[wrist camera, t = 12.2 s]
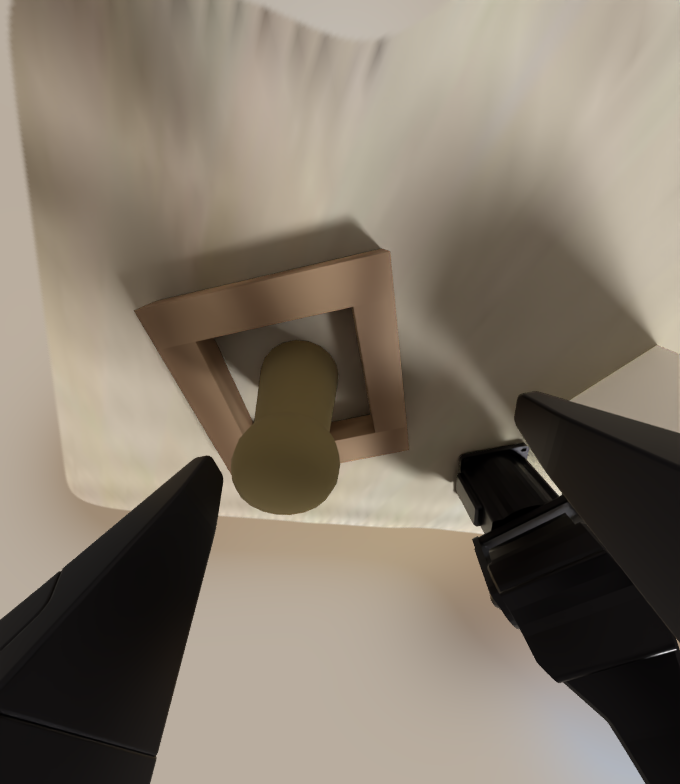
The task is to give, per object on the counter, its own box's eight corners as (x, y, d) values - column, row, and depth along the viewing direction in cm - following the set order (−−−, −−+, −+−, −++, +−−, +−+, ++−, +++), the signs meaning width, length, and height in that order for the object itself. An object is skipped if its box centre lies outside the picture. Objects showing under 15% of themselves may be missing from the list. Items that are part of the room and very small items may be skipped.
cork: (349, 394, 22) (368, 514, 13) (282, 417, 23) (255, 545, 14) (321, 328, 19) (320, 420, 10) (245, 357, 20) (180, 467, 11)
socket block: (381, 248, 17) (390, 251, 15) (401, 430, 25) (409, 449, 23) (156, 301, 18) (133, 310, 16) (243, 461, 26) (236, 482, 23)
